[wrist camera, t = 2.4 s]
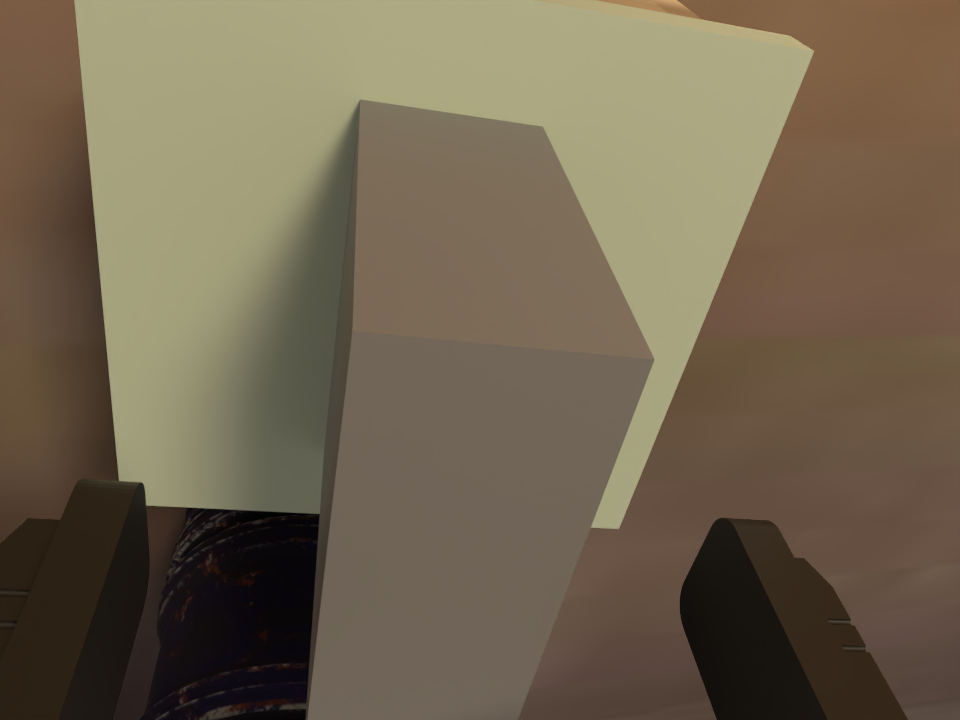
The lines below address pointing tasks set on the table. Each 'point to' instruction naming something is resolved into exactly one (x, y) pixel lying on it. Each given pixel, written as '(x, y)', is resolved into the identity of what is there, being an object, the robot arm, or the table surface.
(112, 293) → the lid
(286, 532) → the dark blue cylinder
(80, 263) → the table surface
